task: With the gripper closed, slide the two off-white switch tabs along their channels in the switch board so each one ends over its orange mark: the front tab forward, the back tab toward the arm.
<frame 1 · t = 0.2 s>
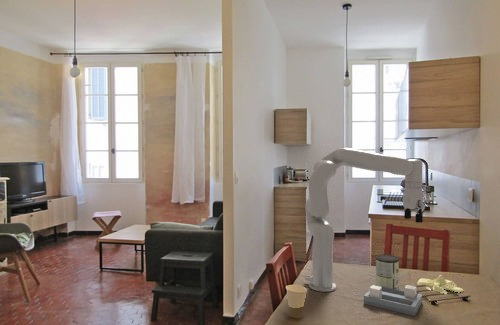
hand: (413, 220, 174), 31 cm above the table, tool pointing down, fingers open, 9 cm apart
tab 2: (410, 293, 152), point 4 cm above the table, slide at 12.0 cm
switch board: (392, 303, 153), on the table
tab 1: (375, 293, 152), point 4 cm above the table, slide at 0.0 cm
coffee can: (387, 287, 171), on the table
cloth: (440, 289, 170), on the table
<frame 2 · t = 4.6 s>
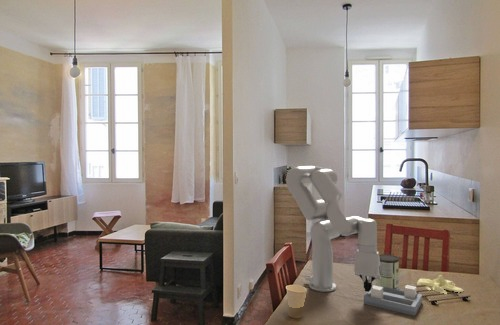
hand: (367, 290, 154), 5 cm above the table, tool pointing down, fingers closed
tab 1: (377, 293, 152), point 4 cm above the table, slide at 0.6 cm, touching gripper
everything else where it was.
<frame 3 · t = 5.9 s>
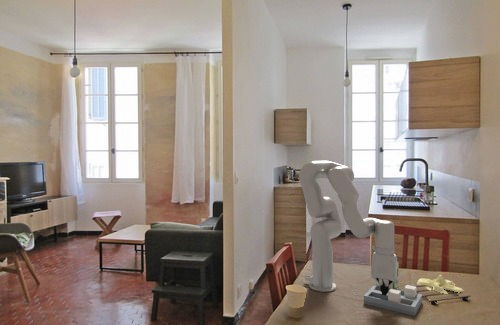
hand: (384, 294, 150), 5 cm above the table, tool pointing down, fingers closed
tab 1: (394, 297, 148), point 4 cm above the table, slide at 7.6 cm, touching gripper
everything else where it was.
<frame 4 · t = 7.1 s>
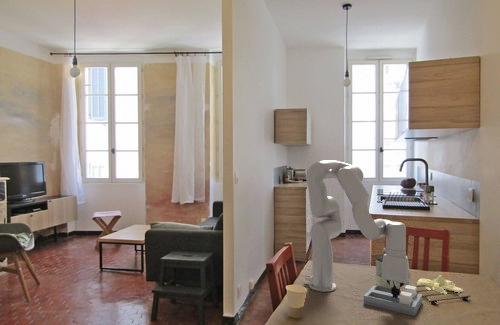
hand: (395, 296, 148), 5 cm above the table, tool pointing down, fingers closed
tab 1: (405, 299, 146), point 4 cm above the table, slide at 12.0 cm, touching gripper
everything else where it was.
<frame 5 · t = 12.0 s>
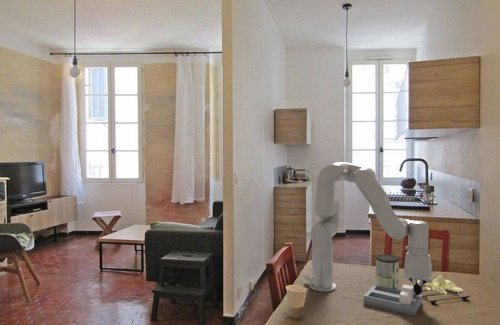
hand: (417, 294, 151), 5 cm above the table, tool pointing down, fingers closed
tab 2: (407, 292, 153), point 4 cm above the table, slide at 10.9 cm, touching gripper
tab 1: (405, 299, 145), point 4 cm above the table, slide at 12.0 cm
everything else where it was.
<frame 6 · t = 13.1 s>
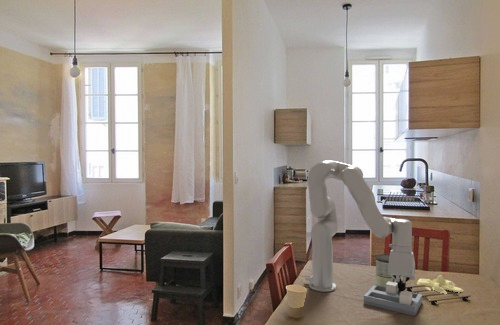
hand: (401, 290, 154), 5 cm above the table, tool pointing down, fingers closed
tab 2: (391, 289, 157), point 4 cm above the table, slide at 4.5 cm, touching gripper
everything else where it was.
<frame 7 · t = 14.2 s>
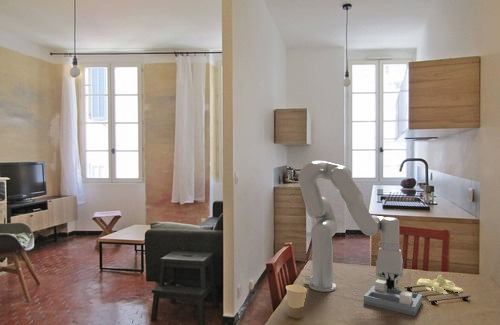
hand: (390, 287, 157), 5 cm above the table, tool pointing down, fingers closed
tab 2: (381, 286, 159), point 4 cm above the table, slide at -0.1 cm, touching gripper
everything else where it was.
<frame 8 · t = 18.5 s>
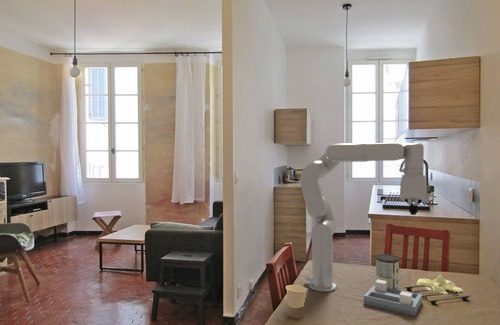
hand: (413, 214, 155), 37 cm above the table, tool pointing down, fingers closed
tab 2: (381, 287, 159), point 4 cm above the table, slide at 0.0 cm
everything else where it was.
at the end: tab 1 slide at 12.0 cm; tab 2 slide at 0.0 cm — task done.
